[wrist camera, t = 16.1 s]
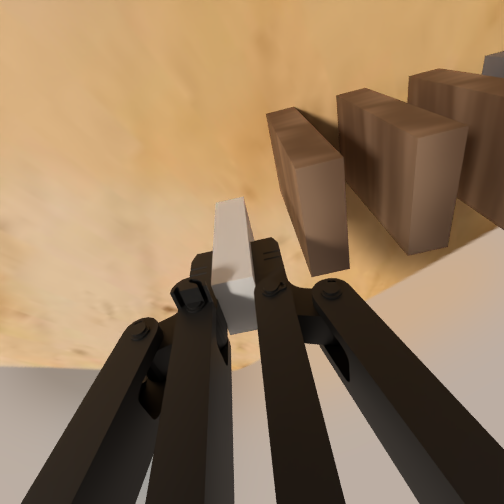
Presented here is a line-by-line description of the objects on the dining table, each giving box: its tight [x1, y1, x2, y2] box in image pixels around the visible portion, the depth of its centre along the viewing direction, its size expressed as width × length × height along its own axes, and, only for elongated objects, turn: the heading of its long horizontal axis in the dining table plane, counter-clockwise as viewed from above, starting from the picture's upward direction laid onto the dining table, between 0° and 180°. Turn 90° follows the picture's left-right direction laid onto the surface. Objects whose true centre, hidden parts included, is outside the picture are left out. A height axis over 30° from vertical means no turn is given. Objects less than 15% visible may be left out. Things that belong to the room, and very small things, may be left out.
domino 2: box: [336, 88, 469, 255], centre depth 18 cm, size 2×6×11 cm, turn 13°
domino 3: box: [407, 69, 504, 230], centre depth 18 cm, size 2×6×11 cm, turn 13°
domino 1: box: [266, 107, 350, 277], centre depth 19 cm, size 2×6×11 cm, turn 13°
